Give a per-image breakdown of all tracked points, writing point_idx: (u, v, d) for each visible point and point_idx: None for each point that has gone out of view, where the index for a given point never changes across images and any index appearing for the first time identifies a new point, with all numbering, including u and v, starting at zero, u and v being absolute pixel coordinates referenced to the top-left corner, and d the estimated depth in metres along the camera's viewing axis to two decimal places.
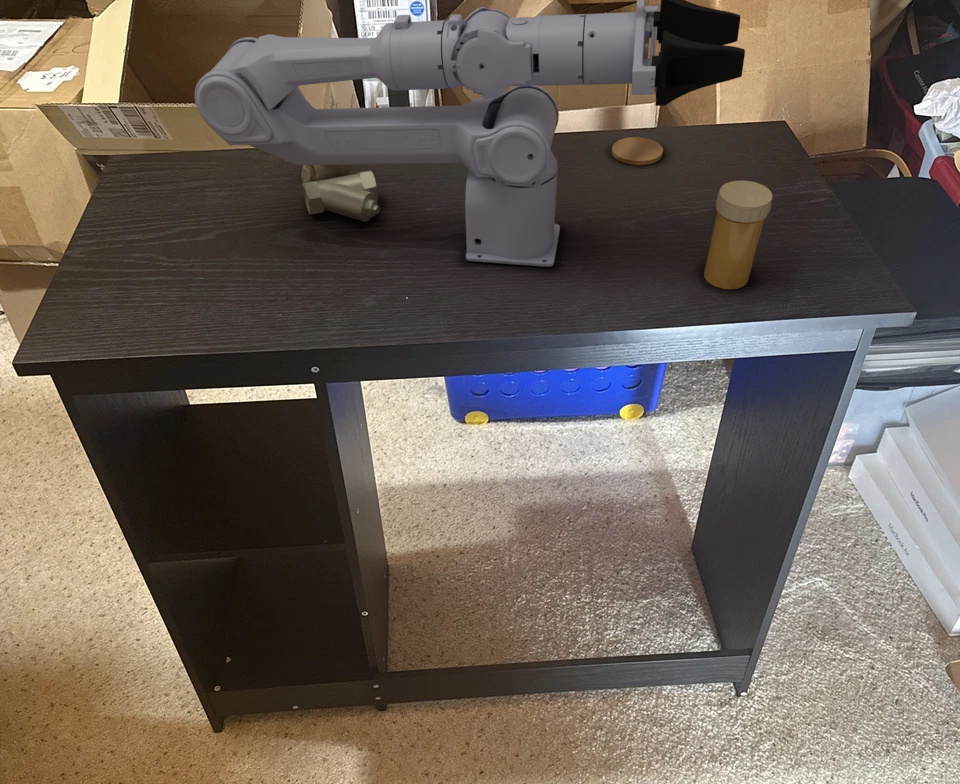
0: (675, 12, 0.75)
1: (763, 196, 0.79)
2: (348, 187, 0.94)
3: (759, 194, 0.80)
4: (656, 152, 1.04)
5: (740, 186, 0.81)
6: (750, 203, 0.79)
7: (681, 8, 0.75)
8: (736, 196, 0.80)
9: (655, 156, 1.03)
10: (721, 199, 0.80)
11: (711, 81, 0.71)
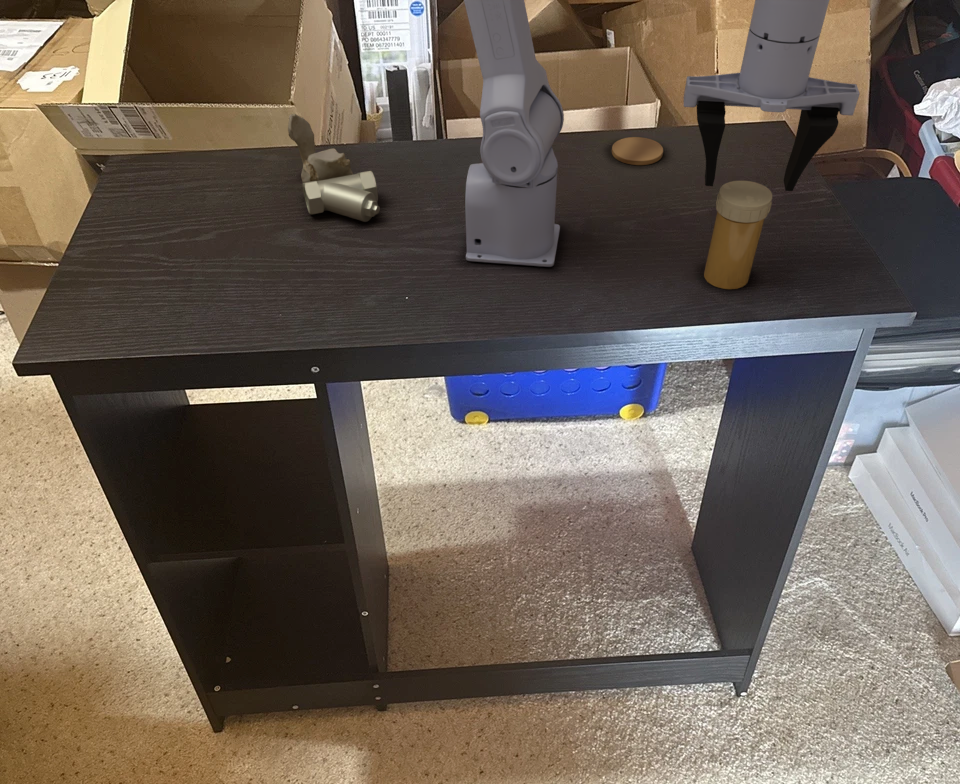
0: (804, 133, 0.73)
1: (763, 196, 0.79)
2: (348, 187, 0.94)
3: (759, 194, 0.80)
4: (656, 152, 1.04)
5: (740, 186, 0.81)
6: (750, 203, 0.79)
7: (803, 140, 0.74)
8: (736, 196, 0.80)
9: (655, 156, 1.03)
10: (721, 199, 0.80)
11: None
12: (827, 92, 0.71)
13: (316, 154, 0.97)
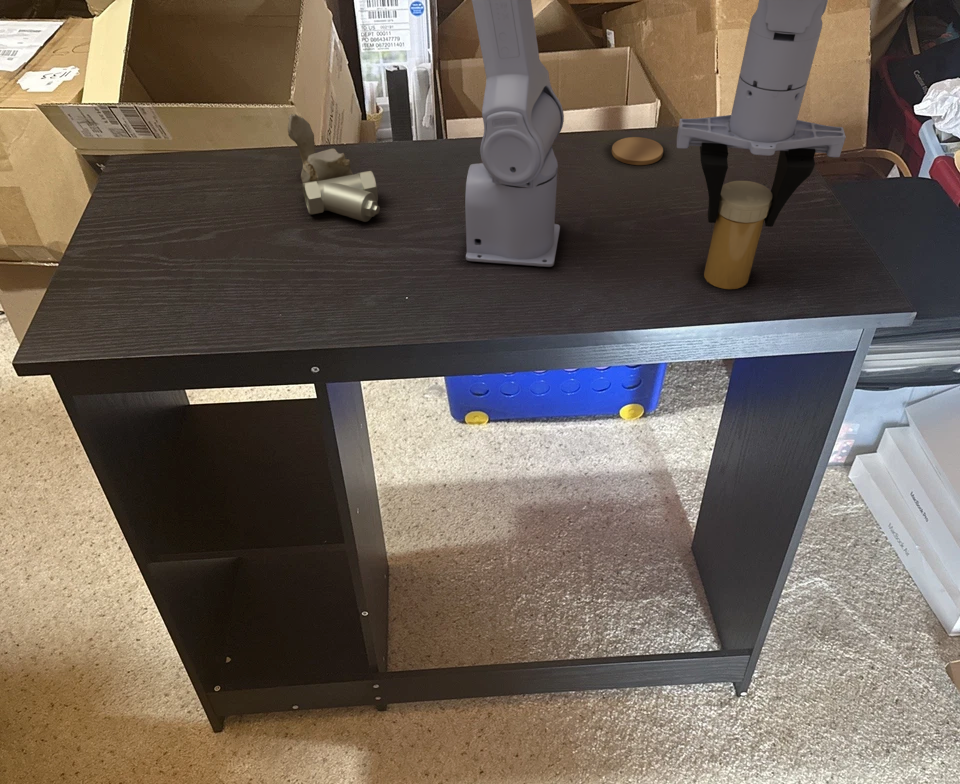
0: (783, 173, 0.76)
1: (763, 196, 0.79)
2: (348, 187, 0.94)
3: (759, 194, 0.80)
4: (656, 152, 1.04)
5: (740, 186, 0.81)
6: (751, 203, 0.79)
7: (781, 180, 0.76)
8: (736, 196, 0.80)
9: (655, 156, 1.03)
10: (721, 199, 0.80)
11: None
12: (814, 135, 0.74)
13: (316, 154, 0.97)
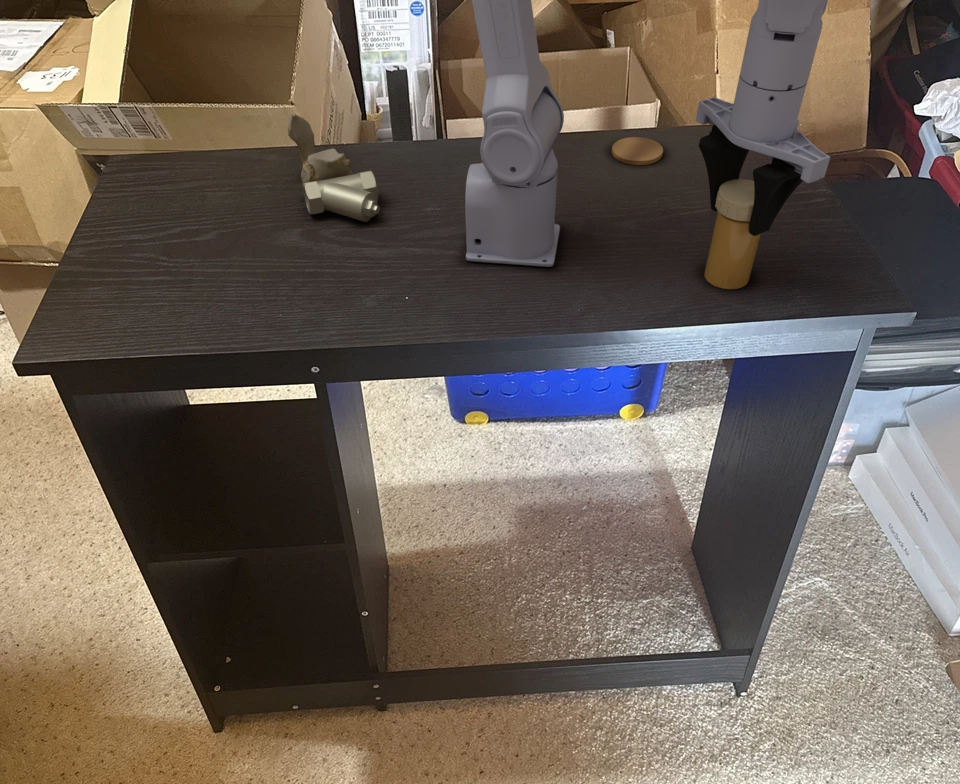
0: (745, 148, 0.80)
1: (737, 183, 0.81)
2: (348, 187, 0.94)
3: (737, 185, 0.81)
4: (656, 152, 1.04)
5: (738, 197, 0.79)
6: None
7: (746, 152, 0.80)
8: None
9: (655, 156, 1.03)
10: None
11: (761, 215, 0.78)
12: None
13: (316, 154, 0.97)
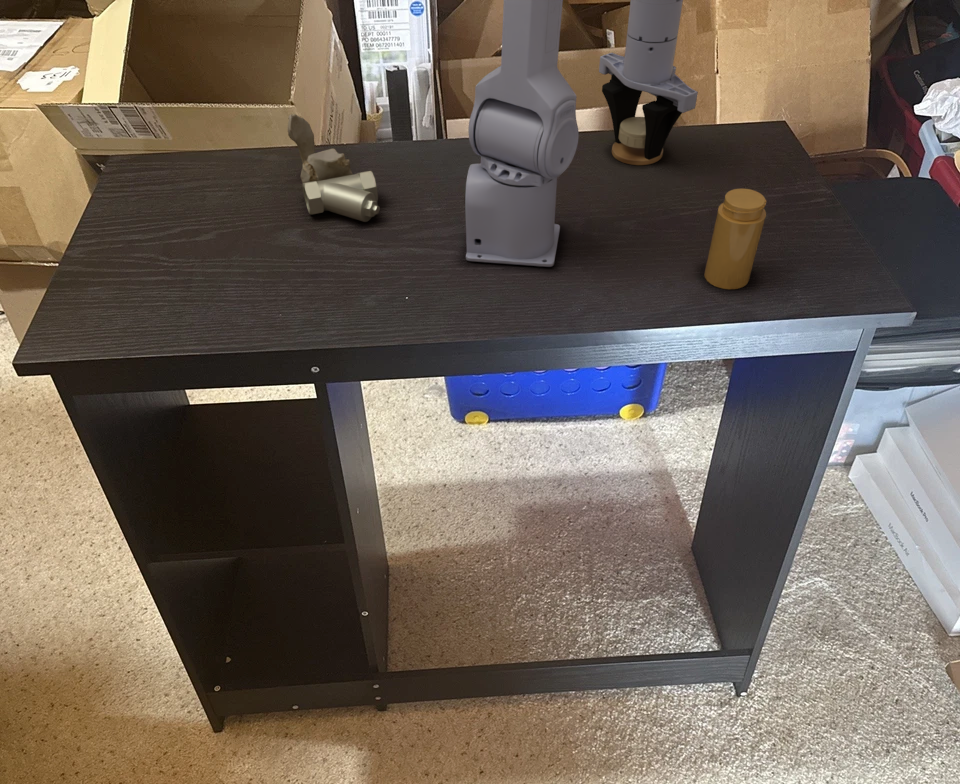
0: (638, 92, 1.03)
1: (634, 119, 1.04)
2: (348, 187, 0.94)
3: (634, 121, 1.03)
4: None
5: (635, 129, 1.02)
6: None
7: (639, 95, 1.03)
8: None
9: None
10: None
11: (652, 142, 1.01)
12: None
13: (316, 154, 0.97)
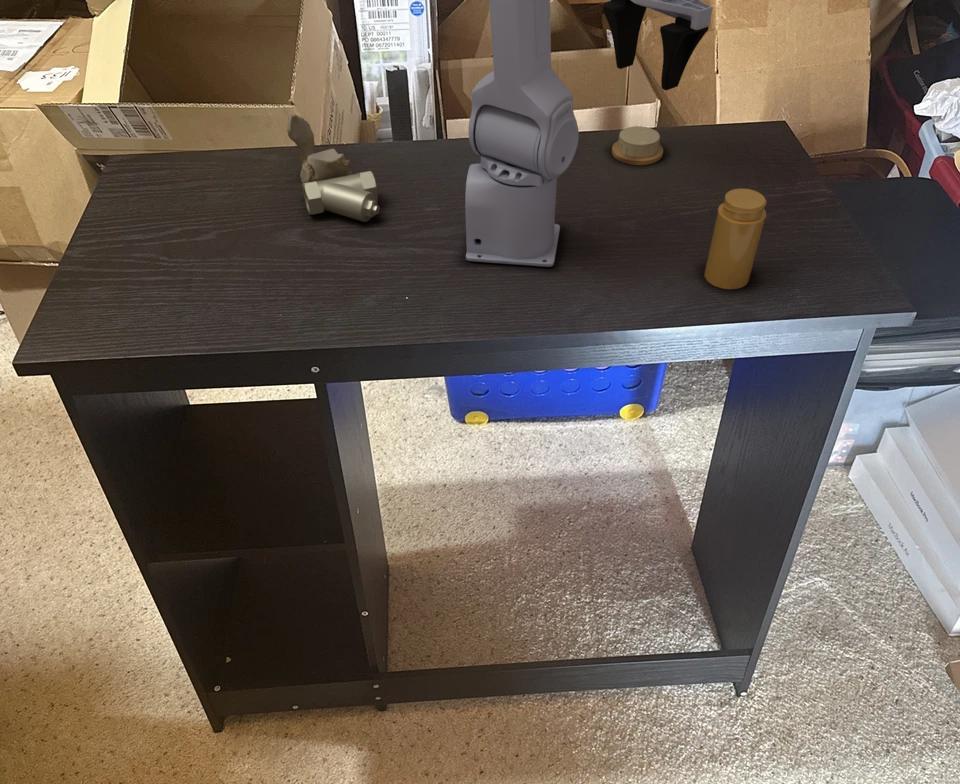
0: (641, 11, 0.97)
1: (633, 129, 1.05)
2: (348, 187, 0.94)
3: (633, 131, 1.04)
4: (656, 152, 1.04)
5: (634, 139, 1.03)
6: (648, 130, 1.04)
7: (642, 15, 0.97)
8: (648, 136, 1.03)
9: (655, 156, 1.03)
10: (657, 142, 1.03)
11: (670, 69, 0.93)
12: None
13: (315, 155, 0.97)
